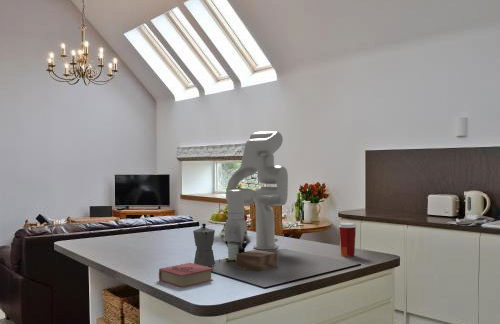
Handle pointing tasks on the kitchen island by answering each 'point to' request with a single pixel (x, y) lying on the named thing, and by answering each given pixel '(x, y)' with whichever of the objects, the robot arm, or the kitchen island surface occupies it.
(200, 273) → the book
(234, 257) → the tea tin
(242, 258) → the walnut box
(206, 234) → the coffeepot
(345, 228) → the coffee cup
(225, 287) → the kitchen island surface
